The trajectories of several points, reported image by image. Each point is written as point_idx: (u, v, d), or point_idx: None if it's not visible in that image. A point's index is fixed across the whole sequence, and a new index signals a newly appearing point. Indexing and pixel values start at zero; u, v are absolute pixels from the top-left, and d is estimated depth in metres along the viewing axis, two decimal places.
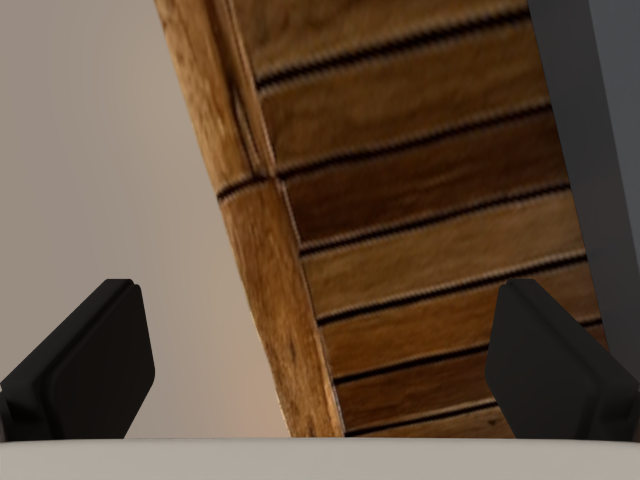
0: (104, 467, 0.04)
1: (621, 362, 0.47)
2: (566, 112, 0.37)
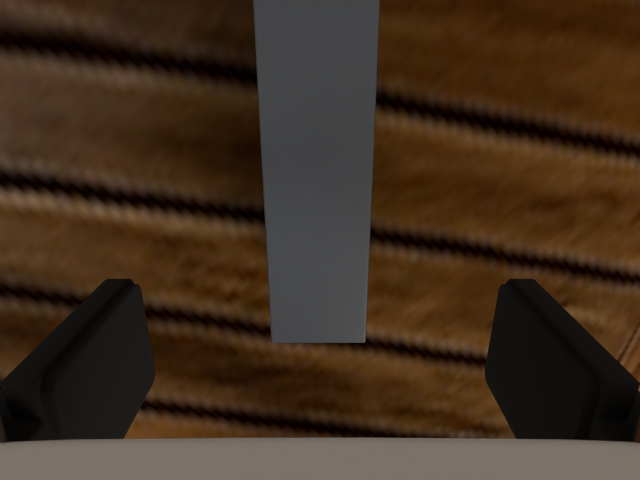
0: (104, 467, 0.04)
1: None
2: None
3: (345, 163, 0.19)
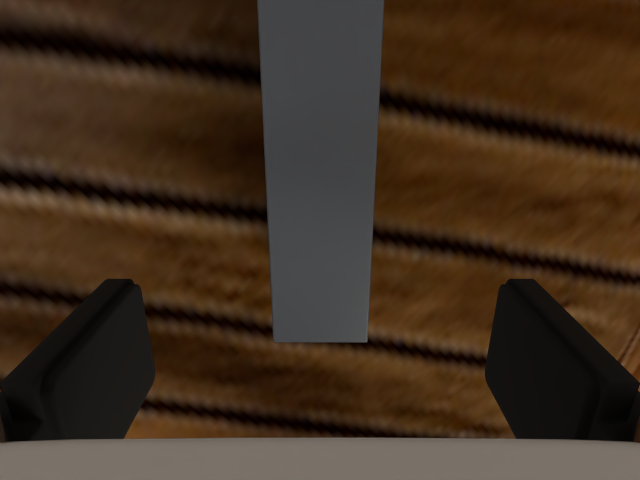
0: (104, 467, 0.04)
1: None
2: None
3: (348, 162, 0.19)
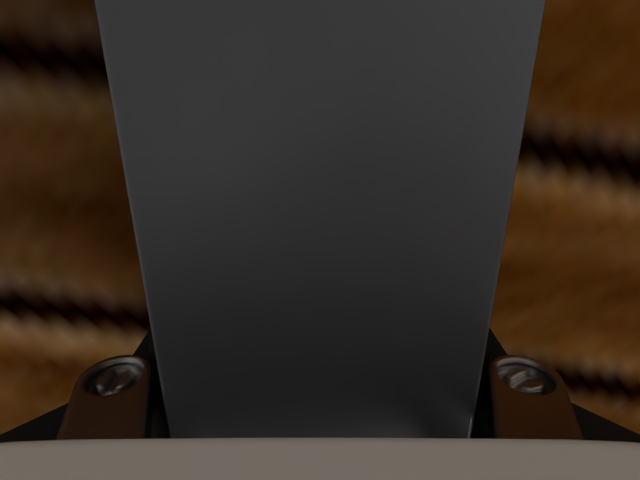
0: (104, 467, 0.04)
1: None
2: None
3: (404, 349, 0.06)
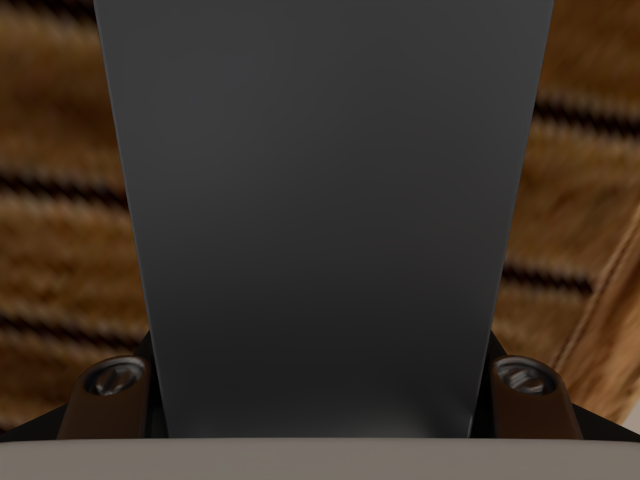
0: (104, 467, 0.04)
1: None
2: None
3: (404, 349, 0.06)
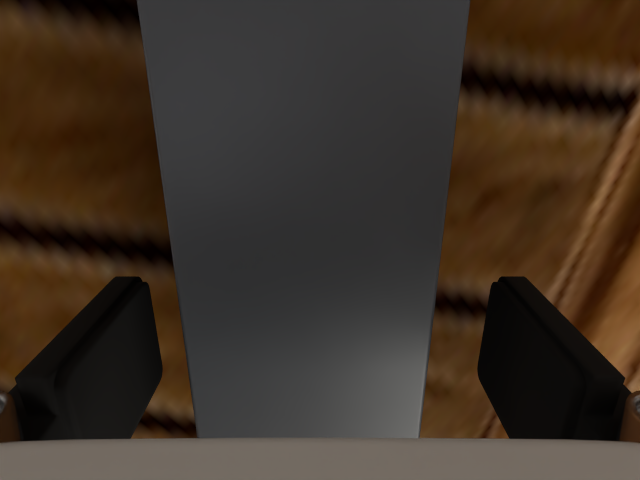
0: (104, 467, 0.04)
1: None
2: None
3: (370, 322, 0.08)
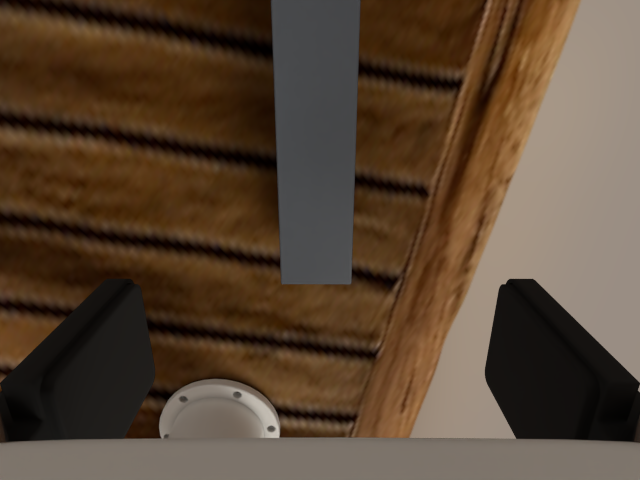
0: (104, 467, 0.04)
1: None
2: None
3: (335, 148, 0.27)
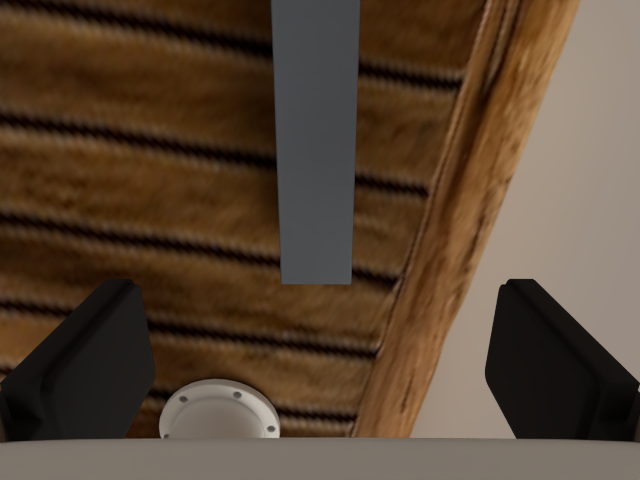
0: (104, 467, 0.04)
1: None
2: None
3: (335, 148, 0.27)
